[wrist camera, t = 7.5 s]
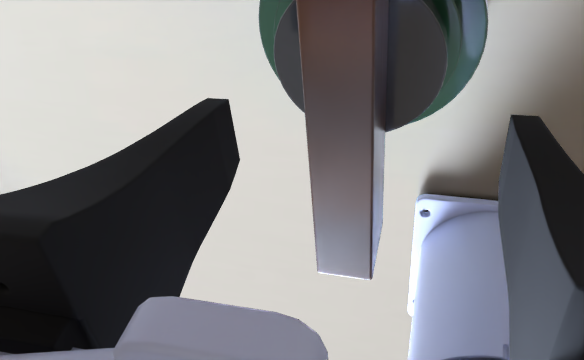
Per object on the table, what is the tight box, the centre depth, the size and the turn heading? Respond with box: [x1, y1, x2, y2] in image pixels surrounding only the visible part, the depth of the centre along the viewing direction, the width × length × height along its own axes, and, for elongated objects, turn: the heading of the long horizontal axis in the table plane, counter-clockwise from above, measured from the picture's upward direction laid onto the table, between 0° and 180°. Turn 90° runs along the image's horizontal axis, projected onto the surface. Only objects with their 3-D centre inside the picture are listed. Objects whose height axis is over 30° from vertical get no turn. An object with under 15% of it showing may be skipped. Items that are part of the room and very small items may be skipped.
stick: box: [296, 0, 389, 280], centre depth 17 cm, size 14×2×3 cm, turn 5°
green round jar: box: [259, 0, 488, 132], centre depth 20 cm, size 8×8×6 cm
